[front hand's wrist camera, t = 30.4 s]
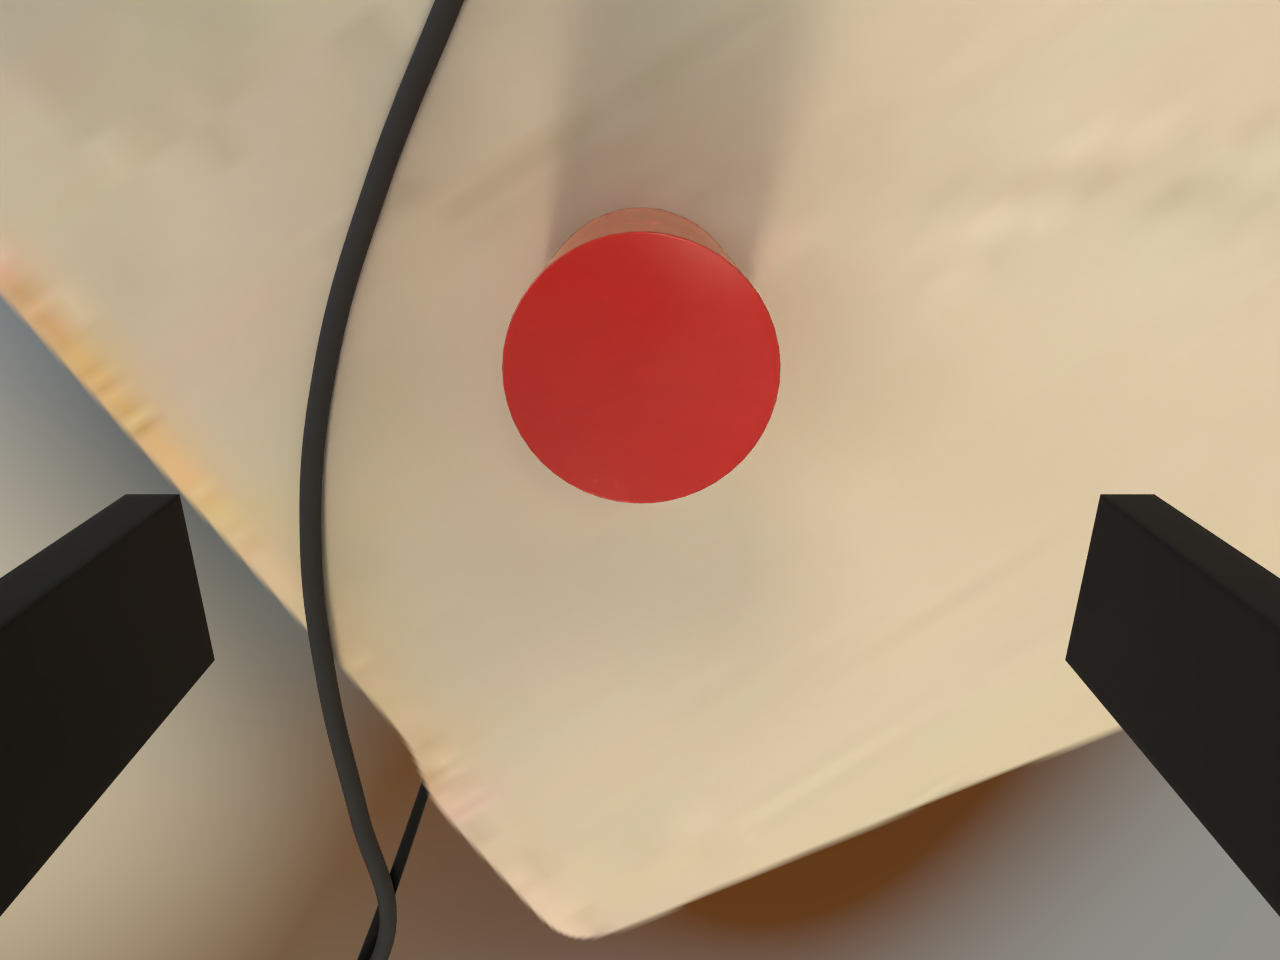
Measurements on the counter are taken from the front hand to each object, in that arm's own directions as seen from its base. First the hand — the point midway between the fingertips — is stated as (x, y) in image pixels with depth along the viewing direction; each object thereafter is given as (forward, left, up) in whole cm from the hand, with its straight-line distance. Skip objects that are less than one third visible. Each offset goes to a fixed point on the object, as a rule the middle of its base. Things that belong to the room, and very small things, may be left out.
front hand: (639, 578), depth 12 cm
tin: (0, 0, -22) cm, 22 cm away
